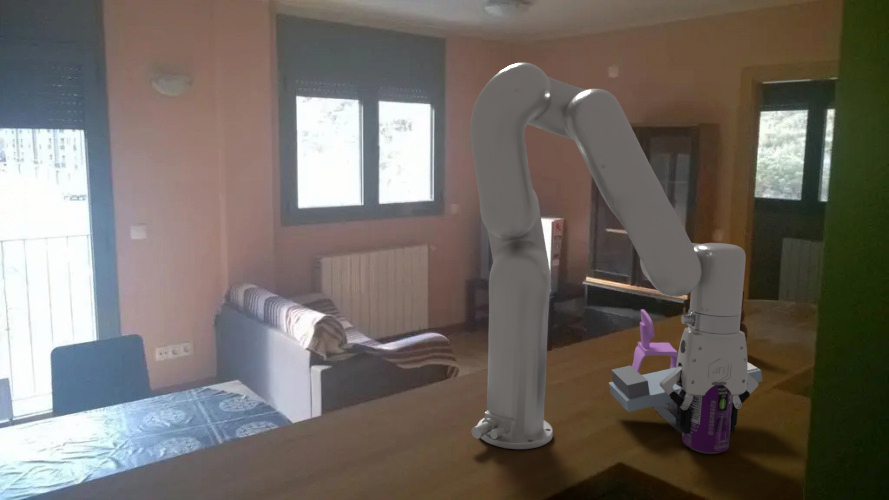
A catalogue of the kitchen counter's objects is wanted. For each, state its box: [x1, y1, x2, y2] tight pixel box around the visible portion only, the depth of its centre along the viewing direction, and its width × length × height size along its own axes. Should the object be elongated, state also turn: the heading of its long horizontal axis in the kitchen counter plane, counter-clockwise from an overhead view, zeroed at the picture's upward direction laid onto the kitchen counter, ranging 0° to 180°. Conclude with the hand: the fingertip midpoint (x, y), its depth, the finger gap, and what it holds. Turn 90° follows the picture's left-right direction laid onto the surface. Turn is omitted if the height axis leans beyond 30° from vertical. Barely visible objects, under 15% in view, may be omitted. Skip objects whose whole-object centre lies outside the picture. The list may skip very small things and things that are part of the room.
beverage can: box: [681, 382, 733, 455], centre depth 111 cm, size 7×7×12 cm
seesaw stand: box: [651, 402, 683, 436], centre depth 123 cm, size 6×13×6 cm, turn 6°
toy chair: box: [631, 308, 678, 373], centre depth 142 cm, size 8×9×15 cm
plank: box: [608, 361, 763, 413], centre depth 122 cm, size 24×9×4 cm, turn 95°
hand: (705, 429), depth 112 cm, fingers closed on beverage can, 6 cm apart
